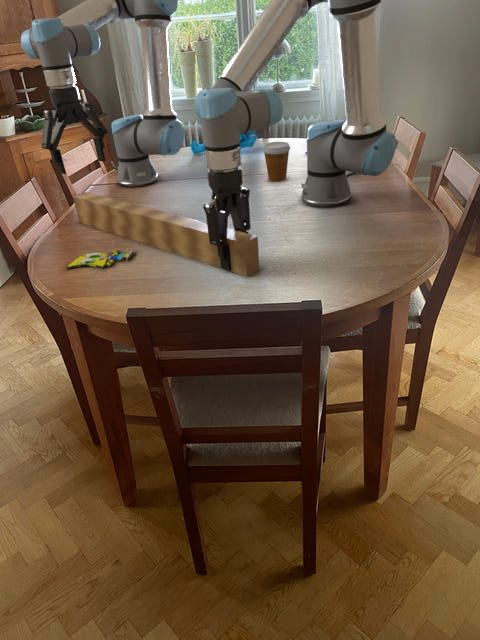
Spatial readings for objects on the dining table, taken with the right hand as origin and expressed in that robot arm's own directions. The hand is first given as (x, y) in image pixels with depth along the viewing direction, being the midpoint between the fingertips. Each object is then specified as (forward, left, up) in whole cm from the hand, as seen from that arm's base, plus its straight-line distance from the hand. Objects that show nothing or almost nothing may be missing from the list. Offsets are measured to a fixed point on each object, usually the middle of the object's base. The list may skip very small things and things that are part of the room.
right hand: (233, 264), depth 116 cm
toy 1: (+12, -34, -1) cm, 36 cm away
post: (-3, -28, -1) cm, 28 cm away
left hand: (-6, -56, +17) cm, 58 cm away
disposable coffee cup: (-64, -25, -1) cm, 69 cm away
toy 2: (-90, -67, -1) cm, 113 cm away
